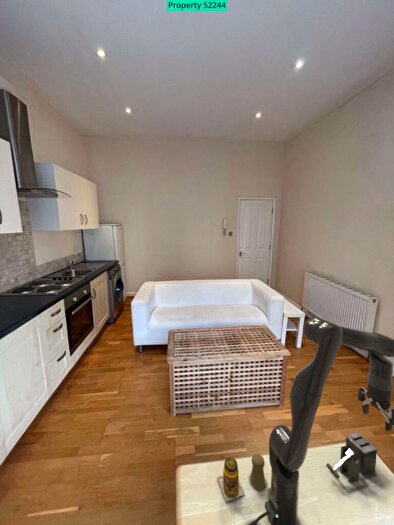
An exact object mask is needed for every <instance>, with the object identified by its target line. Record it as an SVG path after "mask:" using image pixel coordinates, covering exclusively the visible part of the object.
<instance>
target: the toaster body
mask: <svg viewBox="0 0 394 525" xmlns="http://www.w3.org/2000/svg"><path fill="white" fill-rule="evenodd" d="M346 445H350V446H351V451H352V452H353V453H354V454H357V453H358V454H359V455H360V467H359V475H361V476H362V477H366V476H368V475H371V474H373V473H375V472H376V465H377V453H378V448H377V446H375V445H374V444H373V443H371V442H370V441H369V440H368V439H367V438H366V437H365V436H364V435H362V434H361V433H360V432H359V431H356V432H353V433H350V434H346V436H345V446H346Z"/></svg>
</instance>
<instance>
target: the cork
mask: <svg viewBox="0 0 394 525" xmlns="http://www.w3.org/2000/svg"><path fill="white" fill-rule="evenodd" d="M251 464H252V466H251V473H250V481H249V482H250V485H251V486H252V487H253V488H254V489H255V490H263V489H264V488H266V487H265V486H266V479H265V478H266V477H265V471H264V467H265V459H264V457H263V455H261V454H260V453H254V454H253V455H252V457H251Z"/></svg>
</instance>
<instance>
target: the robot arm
mask: <svg viewBox="0 0 394 525" xmlns="http://www.w3.org/2000/svg"><path fill="white" fill-rule="evenodd" d="M302 332H303V333H302V334H303V335H304V337H305V338H306V339H307V340H308V341H309V342H311V343H313V344H314V345H316V346H317V349H316V352H315V355H314V357H313V359H312V360H311V362H309V364H307V365H306V366H304V367H303V368H301V369H300V370H299V371H298V372H297V373H296V374H295V376H294V378H293V381H292V384H291V387H290V391H289V406H290V413H291V429H290V428H289V427H288V426H286V425H284V424H279V425H276V426H275V427H274V428H273V429H272V430H271V432H270V434H269V438H268V439H269V440H268V458H269V459H268V460H269V464H270V469H271V471H270V472H271V473H270V487H269V488H268V490H267V491H268V496H267V500H266V501H264V509H265V512H263V513H262V514H260V515H259V516H258V517H256V519H255V520H253V521H251V522H250V523H249V524H248V525H256V524H258V523H259V522H260V520H262V519H263V518H265V517H267V516H268V517H269V520H270V522H271V524H272V525H298V524H299V521H298V520H299V519H298V517H299V516H298V514H299V511H298V510H299V491H300V490H299V489H300V471H299V470H300V469H301V467H302V466H303V464H304V463H305V460H306V458H307V453H308V449H309V444H310V443H309V442H310V438H311V433H312V428H313V425H314V421H315V418H316V415H317V411H318V409H319V406H320V403H321V400H322V396H323V394H324V390H325V387H326V383H327V380H328V377H329V374H330V372H331V370H332V367H333V364H334V362H335V360H336V358H337V356H338V353H339V351H340V349H341V348H342V347H341V346H342V345H344V346H346V347H349V348H352V349H356V350H360V351H365V352H367V354H368V358H369V369H368V373H367V384H366V386H361V387H359V389H358V396H357V400H358V401H360V402H361V404H362V407H361V408H362V409H361V410H362V414H364V415H369V413H370V412H369V411H370V405H371V406H372V407H374V408H376V409H377V410H378V411H380V414H381V416H383V417H384V420H385V422H384V430H385V431H386V432H390V431H392V430H393V426H394V406H393V405H392V404H391V400H392V394H393V393H392V392H393V373H394V364H393V362H392V361H391V360H389V358H394V338H393V337H390V336H388V335H385V334H381V333H379V332H376V331H375V332H369V331H364V330H361V329H354V328H350V327H345V326H342V325H339V324H336V323H334V322H331V321H329V320H326V319H325V318H321V317H317V316H314V317H310V318H307V320H306V321H305V322H304V324H303V326H302ZM366 397H367V399H366ZM385 411H386V412H385Z"/></svg>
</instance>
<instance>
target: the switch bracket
mask: <svg viewBox="0 0 394 525" xmlns="http://www.w3.org/2000/svg"><path fill="white" fill-rule="evenodd" d="M348 449H350V450H351V446H350V445H346V444H345V445H343V446H340V456H339V457H340V458H339V461H340V460H342V459H343V458H344V457H345V456H346V455H345V452H346V451H347V450H348ZM359 467H360V455H359V454H358V453H357V454H354V455H351V456H350V460H348V461H347V462H346V463H345V464H343V465H342V466H341V467H340V468H339V472H340V474H344V473H348V480H347V482H348V483H349V484H350V485H351V484H353V483H356V482H359V480H360V473H359Z"/></svg>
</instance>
